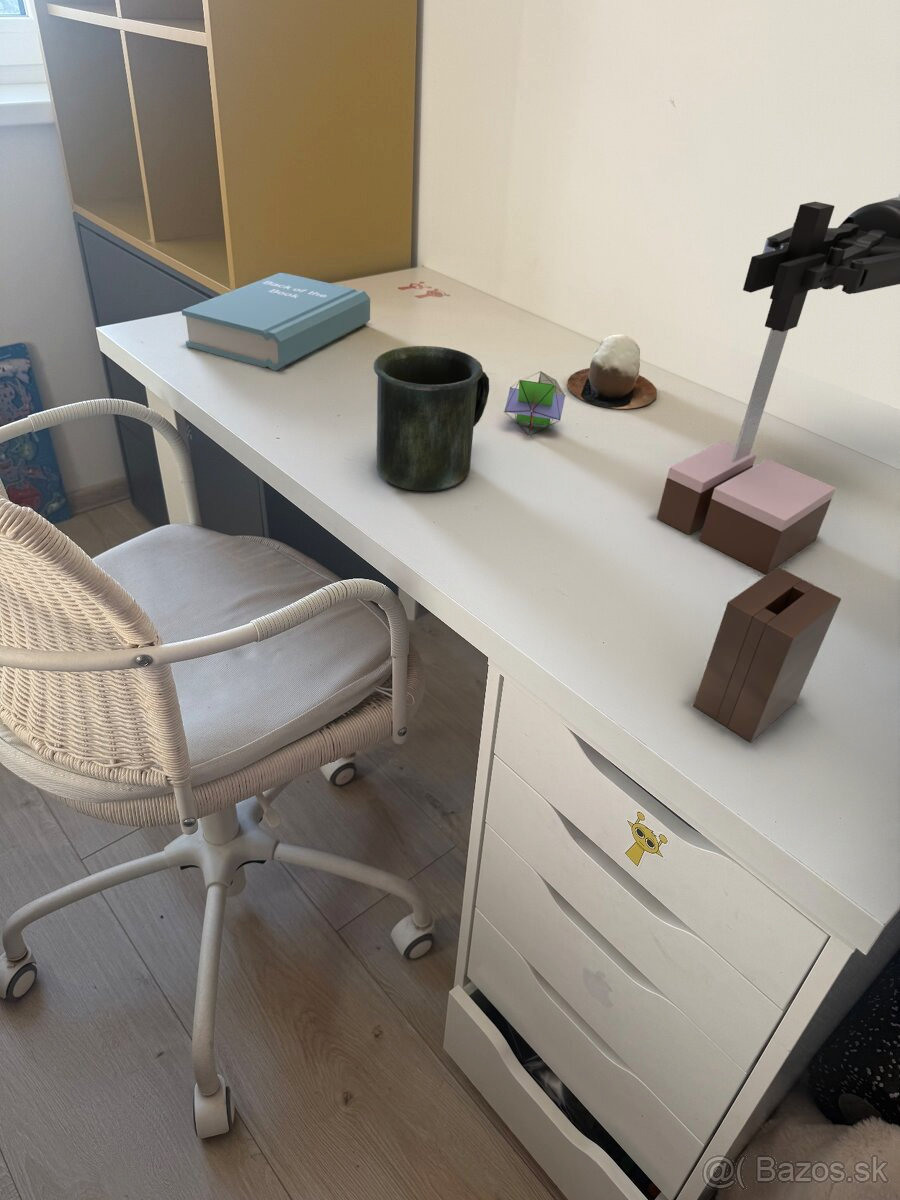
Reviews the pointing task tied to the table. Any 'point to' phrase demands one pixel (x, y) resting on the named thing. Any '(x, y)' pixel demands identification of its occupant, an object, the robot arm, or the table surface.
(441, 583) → the table surface
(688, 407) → the table surface
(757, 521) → the cake
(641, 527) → the table surface
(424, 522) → the table surface
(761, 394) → the knife
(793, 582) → the knife block
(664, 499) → the cake slice
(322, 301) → the book
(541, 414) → the geometric puzzle
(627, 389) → the hat
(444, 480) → the mug
